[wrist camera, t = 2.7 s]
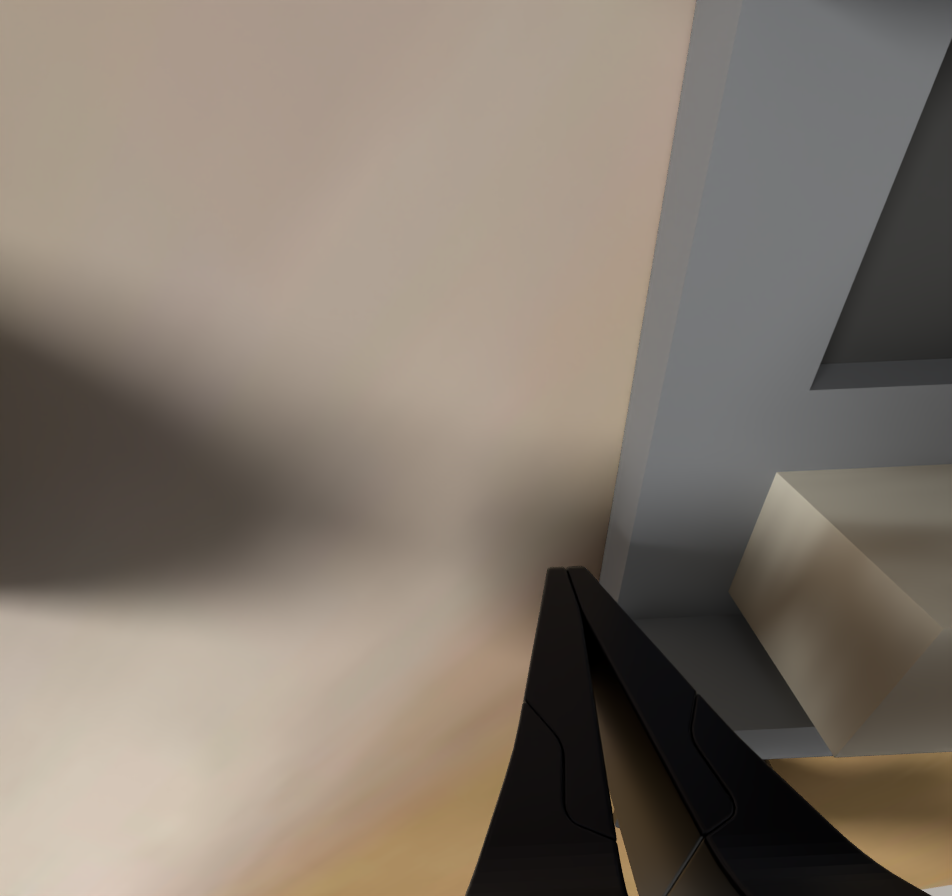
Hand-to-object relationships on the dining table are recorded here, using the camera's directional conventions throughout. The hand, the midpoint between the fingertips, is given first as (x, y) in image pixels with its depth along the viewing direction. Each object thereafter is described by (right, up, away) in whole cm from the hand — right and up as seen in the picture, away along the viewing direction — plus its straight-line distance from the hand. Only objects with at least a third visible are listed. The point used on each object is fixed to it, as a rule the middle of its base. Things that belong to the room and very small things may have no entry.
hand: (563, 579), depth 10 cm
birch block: (+7, +1, +1) cm, 7 cm away
